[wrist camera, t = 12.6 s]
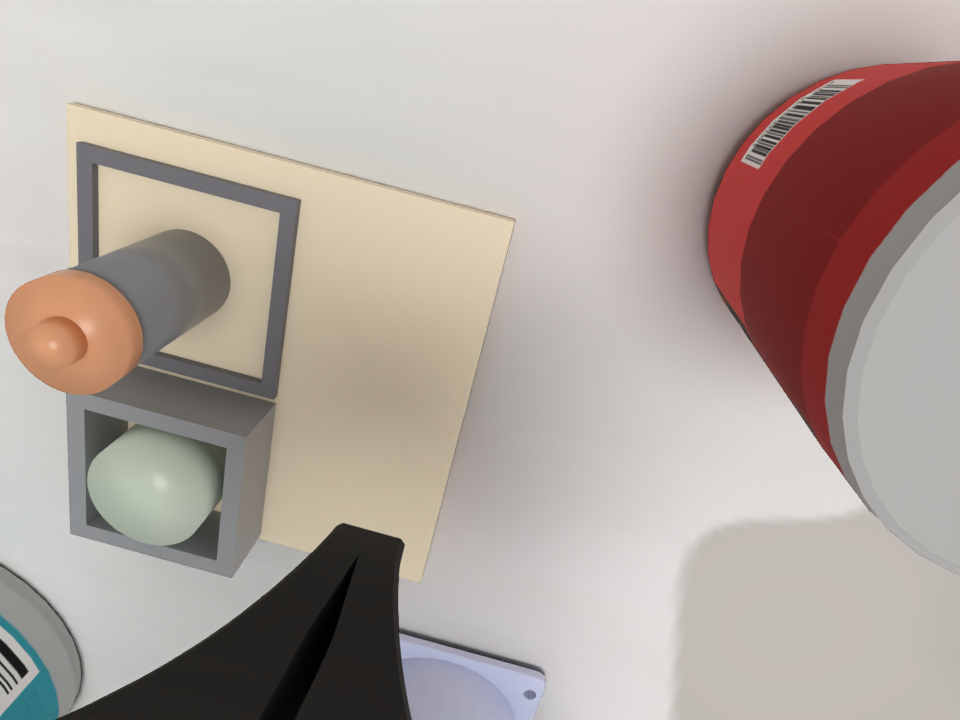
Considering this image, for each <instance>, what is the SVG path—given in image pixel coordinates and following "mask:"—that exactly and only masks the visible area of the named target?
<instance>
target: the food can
mask: <svg viewBox="0 0 960 720" xmlns="http://www.w3.org/2000/svg"><path fill="white" fill-rule="evenodd" d="M80 681H81V667H80V659H79V656H78V653H77V650H76V647H75V644H74V642H73V639H72V637H71V636H70V634H69V632H68V631H67V629H66V627H65V625H64V624H63V622H62V620H61V619H60V618H59V617H58V616H57V614H56V613H55V612H54V611H53V610H52V608H51V607H50V606H49V605H48V603H47V602H46V601H45V600H44V599H43V598H42V597H40V596H39V595H38V594H37V593H36V592H35V591H34V590H33V589H32V588H31V587H29V586H28V585H27V584H26V583H25V582H23V581H22V580H20V579H19V578H18V577H16V576H15V575H13V574H12V573H10V572H9V571H8V570H6V569H5V568H3V567H1V566H0V720H55V719H57V718H59V717H62V716H64V715H66V714H69V713H70V711H71V709H72V707H73V705H74V699H75V697H76V695H77V694H78V692H79V687H80Z"/></svg>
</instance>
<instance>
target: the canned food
mask: <svg viewBox="0 0 960 720" xmlns="http://www.w3.org/2000/svg"><path fill="white" fill-rule="evenodd" d="M708 255H709V260H710V265H711V270H712V275H713V279H714V281H715V284H716V286H717V288H718V290H719V293H720V295H721V297H722V299H723V301H724V303H725V304H726V306H727V307H728V309H729V310H730V312H731V313H732V315H733V316H734V317H735V319H736V320H737V322H738V323H739V325H740V326H741V328H742V329H743V331H744V332H745V334H746V335H747V337H748V338H749V340H750V341H751V343H752V344H753V346H754V347H755V349H756V350H757V352H758V353H759V355H760V356H761V358H762V359H763V361H764V362H765V363H766V365H767V366H768V368H769V369H770V371H771V372H772V374H773V375H774V377H775V378H776V380H777V381H778V383H779V384H780V386H781V387H782V389H783V390H784V392H785V393H786V395H787V396H788V398H789V399H790V401H791V402H792V404H793V405H794V407H795V408H796V410H797V411H798V412H799V414H800V415H801V417H802V418H803V420H804V421H805V423H806V424H807V426H808V427H809V429H810V430H811V432H812V433H813V435H814V436H815V438H816V439H817V441H818V442H819V444H820V445H821V447H822V448H823V449H824V451H825V452H826V453H827V455H828V456H829V457H830V459H831V460H832V461H833V463H834V464H835V465H836V466H837V468H838V469H839V470H840V472H841V473H842V475H843V476H844V478H845V479H846V480H847V482H848V483H849V484H850V486H851V487H852V488H853V490H854V491H855V492H856V494H857V495H858V496H859V498H860V499H861V500H862V502H863V503H864V504H865V506H866V507H867V508H868V510H869V511H870V512H872V513H873V514H874V515H875V516H877V517H878V518H879V519H880V520H881V521H882V523H883V524H884V525H885V527H886V528H887V529H888V530H889V531H890V532H892V533H893V534H894V535H895V536H896V537H898V538H899V539H900V540H901V541H902V542H904V543H905V544H906V545H907V546H908V547H910V548H911V549H912V550H913V551H915V552H916V553H917V554H918V555H920V556H922V557H924V558H926V559H928V560H930V561H932V562H934V563H936V564H938V565H940V566H942V567H944V568H946V569H948V570H950V571H951V572H953V573H955V574H957V575H960V61H948V62H925V63H903V64H883V65H877V66H871V67H864V68H858V69H852V70H849V71H846V72H843V73H841V74H838V75H835V76H832V77H829V78H827V79H824V80H821V81H819V82H817V83H815V84H814V85H812V86H810V87H808V88H807V89H805V90H803V91H801V92H800V93H798V94H796V95H794V96H793V97H791V98H790V99H788V100H787V101H786V102H785V103H783V104H782V105H781V106H780V107H779V108H777V109H776V110H775V111H774V112H772V113H771V114H770V115H769V116H768V117H766V118H765V119H764V120H763V121H762V122H761V123H760V125H759V126H758V127H757V128H756V129H755V130H754V131H753V132H752V134H751V135H750V136H749V137H748V138H747V139H746V140H745V142H744V143H743V144H742V145H741V147H740V149H739V150H738V152H737V153H736V155H735V157H734V158H733V160H732V161H731V163H730V165H729V166H728V168H727V169H726V171H725V174H724V176H723V178H722V181H721V183H720V186H719V188H718V191H717V193H716V196H715V198H714V202H713V207H712V212H711V217H710V221H709V226H708Z"/></svg>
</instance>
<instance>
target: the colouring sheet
mask: <svg viewBox="0 0 960 720" xmlns="http://www.w3.org/2000/svg"><path fill="white" fill-rule="evenodd" d="M66 111H67V152H68V192H69V232H70V268H72V267H74V266H77V265H80V264H82V263H85V262H87V261H90V260H92V259H95V258H97V257H100V256H103V255H105V254H108V253H110V252H113V251H115V250H118V249H121V248H123V247H126V246H128V245H131V244H133V243H136V242H138V241H141V240H144V239H146V238H149V237H151V236H154V235H156V234H159V233H161V232H164V231H167V230H171V229H183V230H188V231H191V232H194V233H197V234H199V235H201V236H202V237H204V238H206V239H207V240H208V241H209V242H211V243H212V244H213V245H214V246H215V247H216V248H217V249H218V251H219V252H220V253H221V255H222V256H223V258H224V260H225V262H226V264H227V267H228V270H229V274H230V292H229V295H228V298H227V300H226V302H225V303H224V305H223V306H222V307H221V308H220V309H219V310H218V311H217V312H215V313H214V314H212V315H211V316H209V317H208V318H206V319H205V320H203V321H202V322H201V323H199V324H198V325H196V326H195V327H193V328H192V329H190V330H189V331H187V332H186V333H184V334H183V335H181V336H180V337H178V338H177V339H176V340H174V341H173V342H171V343H170V344H168V345H167V346H165V347H164V348H162V349H161V350H159V351H158V352H156V353H155V354H153V355H152V356H150V357H149V358H148V359H146V360H145V361H143V362H142V363H140V364H139V365H137V366H141V367H144V368H148V369H152V370H155V371H159V372H163V373H166V374H170V375H174V376H177V377H181V378H185V379H188V380H192V381H196V382H200V383H203V384H207V385H211V386H214V387H218V388H222V389H225V390H229V391H233V392H236V393H240V394H244V395H248V396H251V397H255V398H259V399H262V400H266V401H270V402H273V403H276V410H275V418H274V426H273V435H272V443H271V451H270V459H269V467H268V476H267V484H266V492H265V500H264V508H263V516H262V525H261V533H260V536H259V538H258V539H261V540H264V541H268V542H272V543H275V544H279V545H283V546H286V547H290V548H293V549H297V550H301V551H304V552H308V553H312V552H313V551H314V550H315V549H316V548H317V547H318V546H319V545H320V543H321V542H322V541H323V540H324V539H325V538H326V537H327V536H328V535H329V534H330V533H331V532H332V530H333V529H334V528H335V527H336V526H337V525H339V524H341V523H346V524H349V525H353V526H357V527H360V528H364V529H368V530H371V531H375V532H379V533H382V534H386V535H390V536H393V537H397V538H401V539H402V541H403V542H404V544H405V547H404V551H403V555H402V560H401V564H400V570H399V578H403V579H406V580H410V581H414V582H417V583H421V579H422V576H423V572H424V568H425V564H426V560H427V557H428V553H429V549H430V545H431V541H432V537H433V534H434V530H435V526H436V522H437V518H438V514H439V511H440V507H441V503H442V499H443V495H444V491H445V488H446V484H447V480H448V476H449V472H450V469H451V465H452V461H453V457H454V453H455V449H456V446H457V442H458V438H459V434H460V430H461V426H462V423H463V419H464V415H465V411H466V407H467V403H468V400H469V396H470V392H471V388H472V384H473V380H474V377H475V373H476V369H477V365H478V361H479V357H480V354H481V350H482V346H483V342H484V338H485V334H486V331H487V327H488V323H489V319H490V315H491V311H492V308H493V304H494V300H495V296H496V292H497V288H498V285H499V281H500V277H501V273H502V269H503V265H504V262H505V258H506V254H507V250H508V246H509V242H510V239H511V235H512V231H513V227H514V223H515V219H511V218H507V217H503V216H500V215H496V214H492V213H488V212H485V211H481V210H477V209H473V208H469V207H466V206H462V205H458V204H454V203H451V202H447V201H443V200H439V199H436V198H432V197H428V196H424V195H420V194H417V193H413V192H409V191H405V190H402V189H398V188H394V187H390V186H387V185H383V184H379V183H375V182H371V181H368V180H364V179H360V178H356V177H353V176H349V175H345V174H341V173H338V172H334V171H330V170H326V169H322V168H319V167H315V166H311V165H307V164H304V163H300V162H296V161H292V160H289V159H285V158H281V157H277V156H273V155H270V154H266V153H262V152H258V151H255V150H251V149H247V148H243V147H240V146H236V145H232V144H228V143H225V142H221V141H217V140H213V139H209V138H206V137H202V136H198V135H194V134H191V133H187V132H183V131H179V130H176V129H172V128H168V127H164V126H160V125H157V124H153V123H149V122H145V121H142V120H138V119H134V118H130V117H127V116H123V115H119V114H115V113H111V112H108V111H104V110H100V109H96V108H93V107H89V106H85V105H81V104H78V103H66ZM135 424H136V423H133V422H129V421H128V430H129V429H130V428H131V427H133V426H134V425H135ZM221 506H222V499H221V501H220V502H219V503H218V504H217V506H216V507H215V508H214V509H213V510H215V511H219V512H221Z"/></svg>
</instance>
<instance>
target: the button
mask: <svg viewBox="0 0 960 720" xmlns="http://www.w3.org/2000/svg"><path fill="white" fill-rule="evenodd" d="M226 450H227V448H225V447H221V446H217V445H214V444H210V443H206V442H203V441H199V440H195V439H192V438H188V437H184V436H181V435H177V434H173V433H170V432H166V431H162V430H159V429H155V428H151V427H148V426H144V425H140V424H137V423H136V424H135V425H134V426H133V427H131V428H130V429H129V430H128V431H126V432H125V433H124V434H123V435H121V436H120V437H119V438H118V439H117V440H115V441H114V442H113V443H112V444H110V445H109V446H108V447H107V448H105V449H104V450H103V451H102V452H100V453H99V454H98V455H97V456H96V457H95V458H94V460H93V461H92V463H91V465H90V467H89V470H88V475H87V485H88V490H89V494H90V497H91V500H92V502H93V504H94V506H95V507H96V509H97V510H98V512H99V513H100V514H101V516H102V517H103V518H104V519H105V520H106V521H107V522H108V523H109V524H110V525H111V526H112V527H114V528H115V529H116V530H118V531H119V532H120V533H122V534H124V535H126V536H127V537H129V538H131V539H134V540H136V541H139V542H142V543H146V544H150V545H173V544H177V543H180V542H182V541H184V540H186V539H188V538H189V537H190V536H191V535H193V534H194V533H195V531H196V530H197V529H198V528H199V526H200V525H201V524H202V523H203V521H204V520H205V519H206V518H207V517H208V515H209V514H210V513H211V512H212V510H213V509H214V508H215V507H216V506H217V504H218V503H219V502H220V501H221V499H222V495H223V484H224V473H225V462H226Z"/></svg>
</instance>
